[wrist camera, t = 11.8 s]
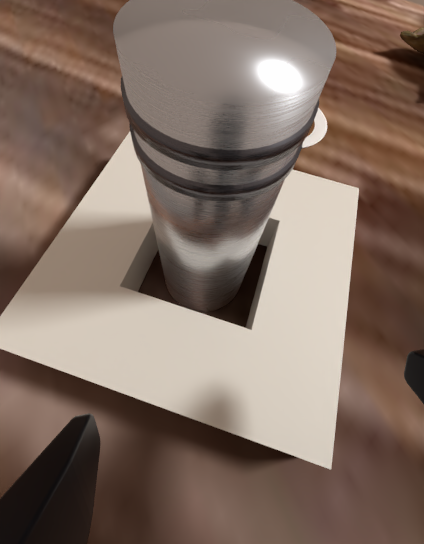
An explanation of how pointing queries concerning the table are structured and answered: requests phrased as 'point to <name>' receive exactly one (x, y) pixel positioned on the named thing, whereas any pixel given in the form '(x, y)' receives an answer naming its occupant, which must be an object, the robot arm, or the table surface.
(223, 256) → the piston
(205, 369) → the square hole plate
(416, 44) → the ceramic sculpture
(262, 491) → the table surface
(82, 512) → the robot arm
